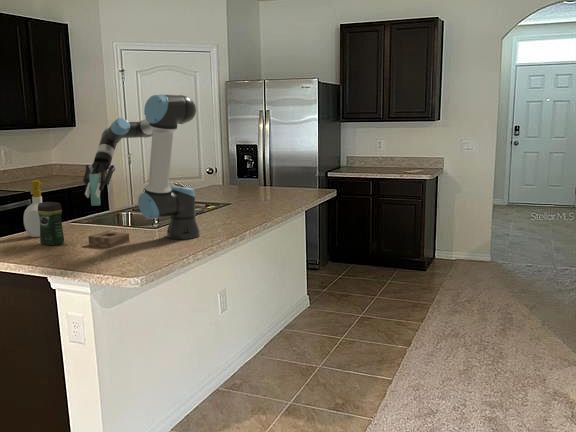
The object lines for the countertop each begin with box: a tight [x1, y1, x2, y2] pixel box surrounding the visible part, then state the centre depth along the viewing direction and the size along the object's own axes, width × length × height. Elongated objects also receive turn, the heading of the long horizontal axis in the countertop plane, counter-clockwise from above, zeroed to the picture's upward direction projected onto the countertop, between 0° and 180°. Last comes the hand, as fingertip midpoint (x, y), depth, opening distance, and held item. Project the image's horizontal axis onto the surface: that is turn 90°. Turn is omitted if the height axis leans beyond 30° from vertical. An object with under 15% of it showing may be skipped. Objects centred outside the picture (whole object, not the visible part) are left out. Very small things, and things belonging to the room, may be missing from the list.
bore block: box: [87, 230, 130, 249], centre depth 247 cm, size 12×12×4 cm
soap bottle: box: [23, 179, 43, 238], centre depth 261 cm, size 14×9×26 cm, turn 146°
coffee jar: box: [38, 201, 65, 246], centre depth 246 cm, size 10×8×19 cm
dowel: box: [89, 173, 101, 207], centre depth 254 cm, size 4×4×14 cm
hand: (91, 195), depth 251 cm, fingers closed on dowel, 4 cm apart
